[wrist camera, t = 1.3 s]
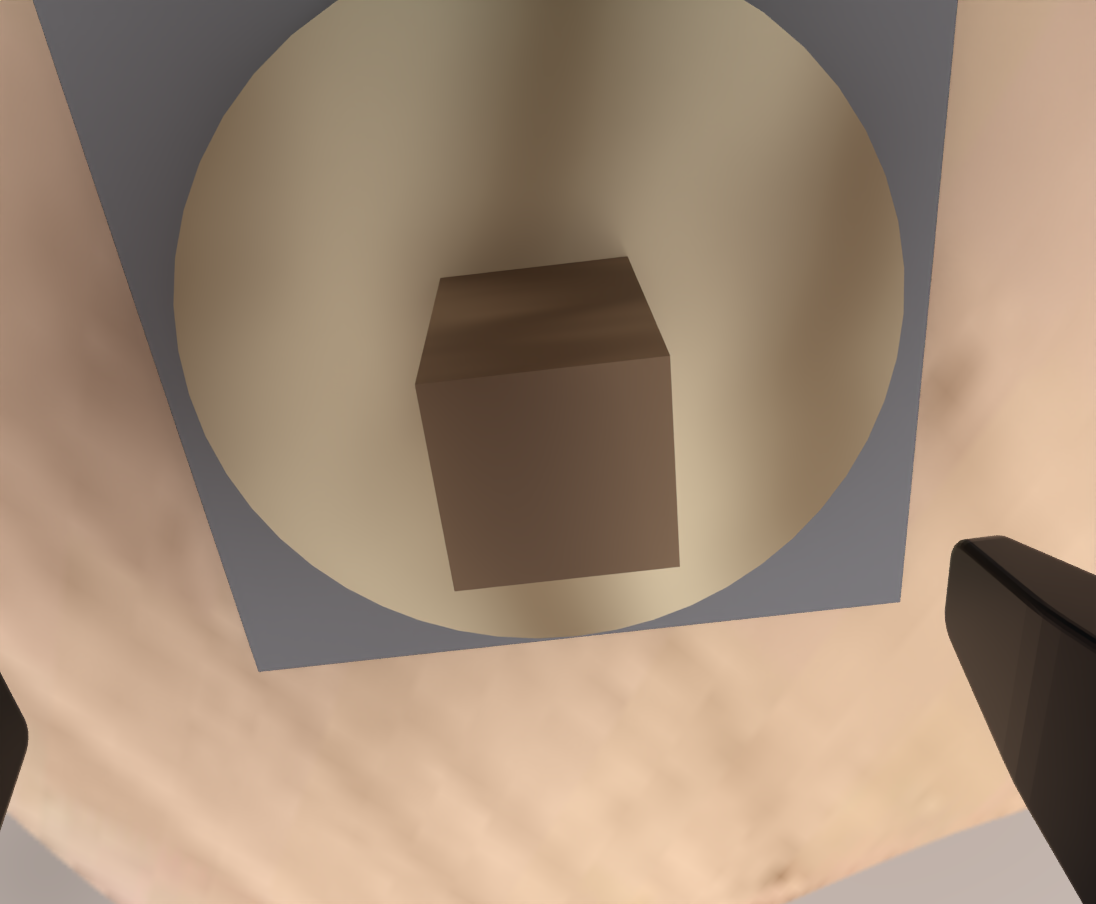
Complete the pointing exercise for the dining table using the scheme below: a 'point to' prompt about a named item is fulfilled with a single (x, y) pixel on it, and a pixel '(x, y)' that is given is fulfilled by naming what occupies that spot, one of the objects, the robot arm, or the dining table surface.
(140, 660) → the dining table surface
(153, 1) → the mat
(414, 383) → the lid
